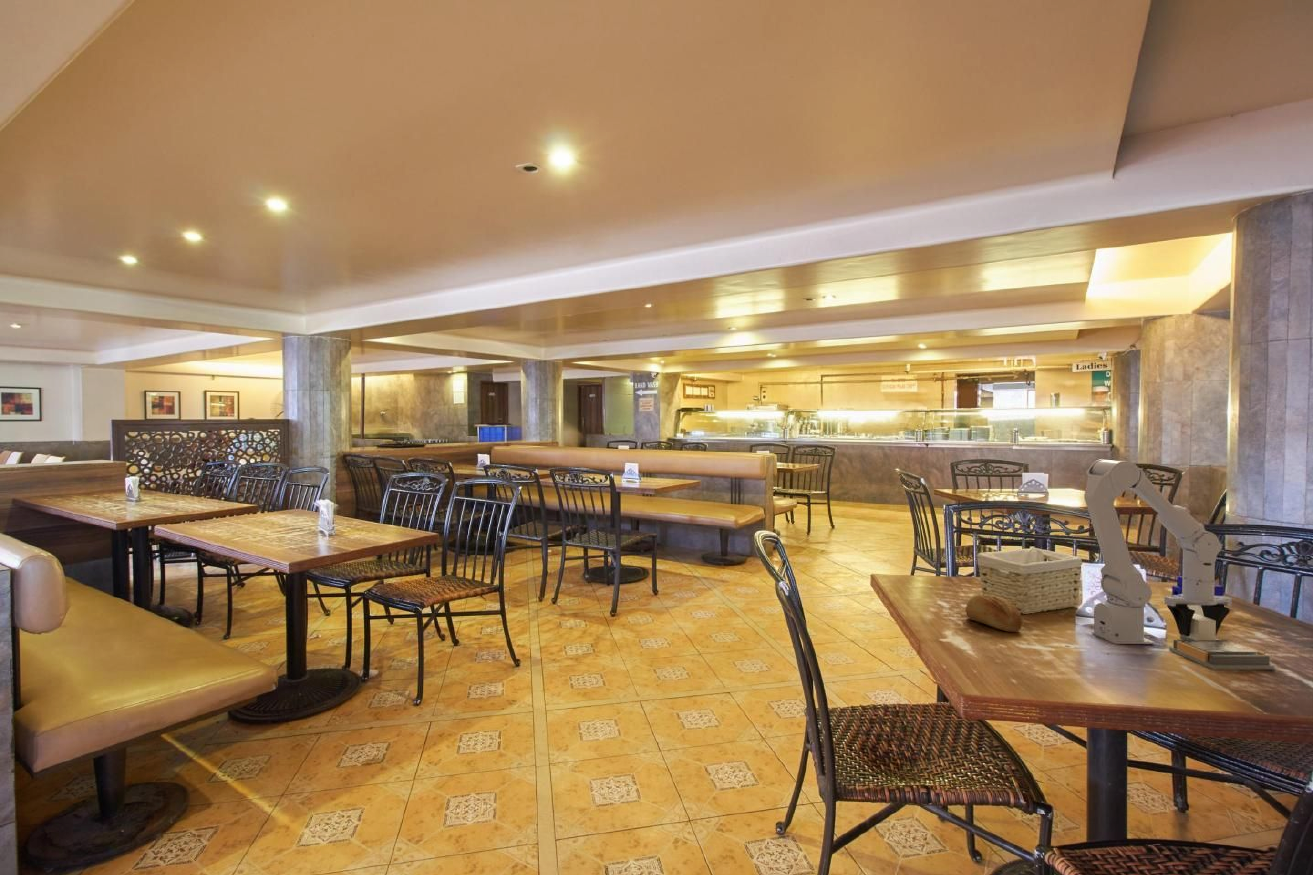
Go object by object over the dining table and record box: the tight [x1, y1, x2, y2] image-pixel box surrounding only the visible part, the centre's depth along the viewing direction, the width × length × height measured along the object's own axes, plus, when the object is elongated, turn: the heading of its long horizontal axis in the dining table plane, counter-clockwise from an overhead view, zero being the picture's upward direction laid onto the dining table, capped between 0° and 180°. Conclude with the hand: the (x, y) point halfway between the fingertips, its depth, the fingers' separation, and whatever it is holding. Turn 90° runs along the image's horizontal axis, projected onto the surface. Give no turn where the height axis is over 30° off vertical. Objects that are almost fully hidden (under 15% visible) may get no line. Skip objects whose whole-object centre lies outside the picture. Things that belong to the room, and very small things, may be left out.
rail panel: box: [1169, 639, 1275, 670], centre depth 133 cm, size 13×11×3 cm
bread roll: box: [965, 593, 1023, 633], centre depth 156 cm, size 10×15×8 cm, turn 20°
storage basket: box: [976, 547, 1083, 615], centre depth 175 cm, size 24×16×15 cm
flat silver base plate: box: [1183, 641, 1258, 656], centre depth 133 cm, size 11×6×1 cm, turn 90°
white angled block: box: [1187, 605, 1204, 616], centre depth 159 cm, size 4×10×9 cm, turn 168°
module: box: [1179, 614, 1217, 640], centre depth 144 cm, size 4×5×6 cm
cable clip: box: [1171, 575, 1225, 596], centre depth 178 cm, size 12×4×6 cm, turn 0°
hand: (1197, 634), depth 144 cm, fingers open, 6 cm apart
